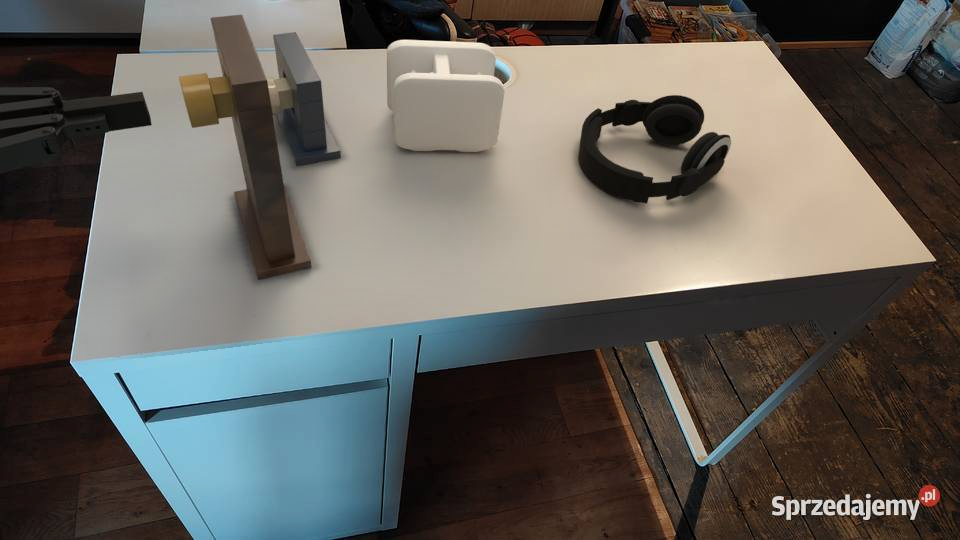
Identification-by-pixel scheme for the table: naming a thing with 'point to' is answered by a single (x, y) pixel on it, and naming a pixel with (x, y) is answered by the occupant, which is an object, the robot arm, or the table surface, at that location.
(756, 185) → the table surface
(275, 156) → the panel front
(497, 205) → the table surface
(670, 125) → the headphones
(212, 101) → the knob front
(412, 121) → the cable organizer
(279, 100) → the knob back
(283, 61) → the panel back
